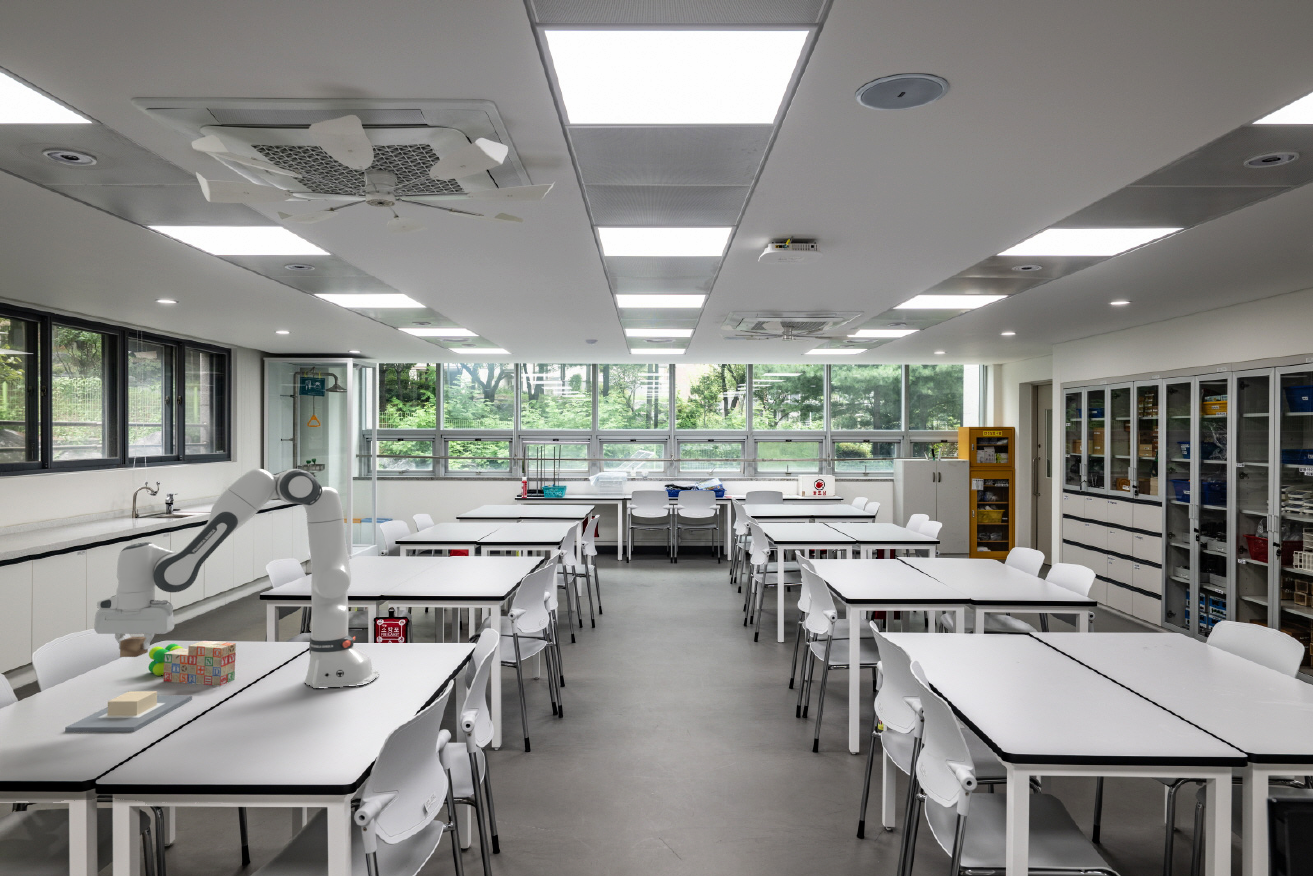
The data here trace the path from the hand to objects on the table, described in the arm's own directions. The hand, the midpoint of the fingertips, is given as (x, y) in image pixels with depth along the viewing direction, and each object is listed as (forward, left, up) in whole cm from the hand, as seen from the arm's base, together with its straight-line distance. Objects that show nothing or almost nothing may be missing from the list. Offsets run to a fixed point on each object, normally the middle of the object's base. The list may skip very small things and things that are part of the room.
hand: (134, 648), depth 195 cm
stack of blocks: (0, -30, -19) cm, 35 cm away
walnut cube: (0, 0, -2) cm, 2 cm away
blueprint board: (0, 0, -19) cm, 19 cm away
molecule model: (+16, -38, -19) cm, 45 cm away
